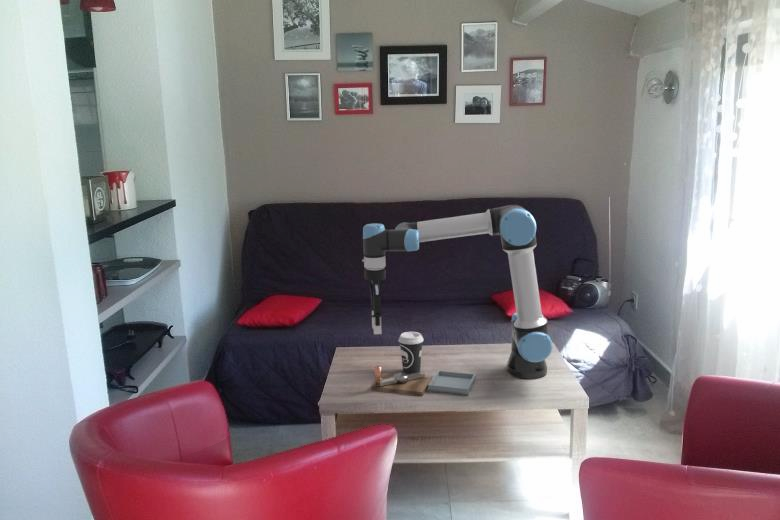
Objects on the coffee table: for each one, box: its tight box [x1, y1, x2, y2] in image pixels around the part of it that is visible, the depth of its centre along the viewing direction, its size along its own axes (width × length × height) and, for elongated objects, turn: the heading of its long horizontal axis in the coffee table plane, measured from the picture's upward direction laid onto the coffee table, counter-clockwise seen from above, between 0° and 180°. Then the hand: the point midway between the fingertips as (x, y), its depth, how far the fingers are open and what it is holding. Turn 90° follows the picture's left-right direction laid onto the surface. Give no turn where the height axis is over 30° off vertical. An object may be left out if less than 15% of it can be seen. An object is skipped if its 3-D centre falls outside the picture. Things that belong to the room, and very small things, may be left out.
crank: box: [374, 364, 426, 386], centre depth 229 cm, size 19×5×7 cm, turn 115°
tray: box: [427, 369, 477, 397], centre depth 229 cm, size 14×14×2 cm
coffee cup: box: [397, 331, 425, 374], centre depth 241 cm, size 10×10×15 cm
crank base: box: [371, 372, 433, 397], centre depth 230 cm, size 19×13×2 cm
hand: (376, 330), depth 227 cm, fingers open, 6 cm apart
